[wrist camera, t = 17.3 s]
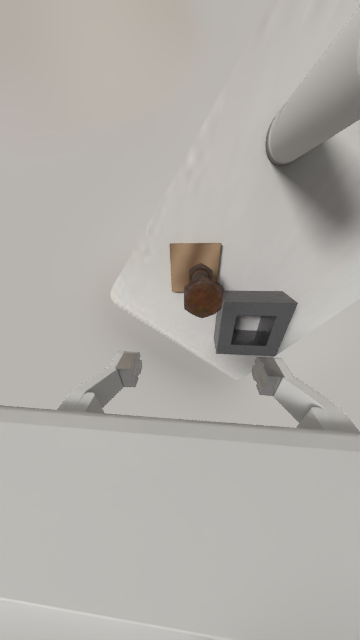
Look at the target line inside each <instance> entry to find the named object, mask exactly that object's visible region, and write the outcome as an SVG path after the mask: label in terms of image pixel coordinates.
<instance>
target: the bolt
mask: <svg viewBox="0 0 360 640" xmlns="http://www.w3.org/2000/svg"><path fill="white" fill-rule="evenodd" d="M212 275H213V271H212V269H210V268H209V267H207V266H206V265H204V264H202V263H199V264H197V265H196V266H194V267H192V268H191V269H189V284H187V285H186V286H185V287H184V309H185V310H187V311H188V312H190V313H191V314H193V315H195V316H197V317H200V318H204V317H208V316H210V315H213V314H215V313H216V312H218V311H219V310H221V307H222V302H223V292H224V289H223V286H221V285H220V284H218V283H216V282H215V281H213V280H212Z"/></svg>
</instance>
